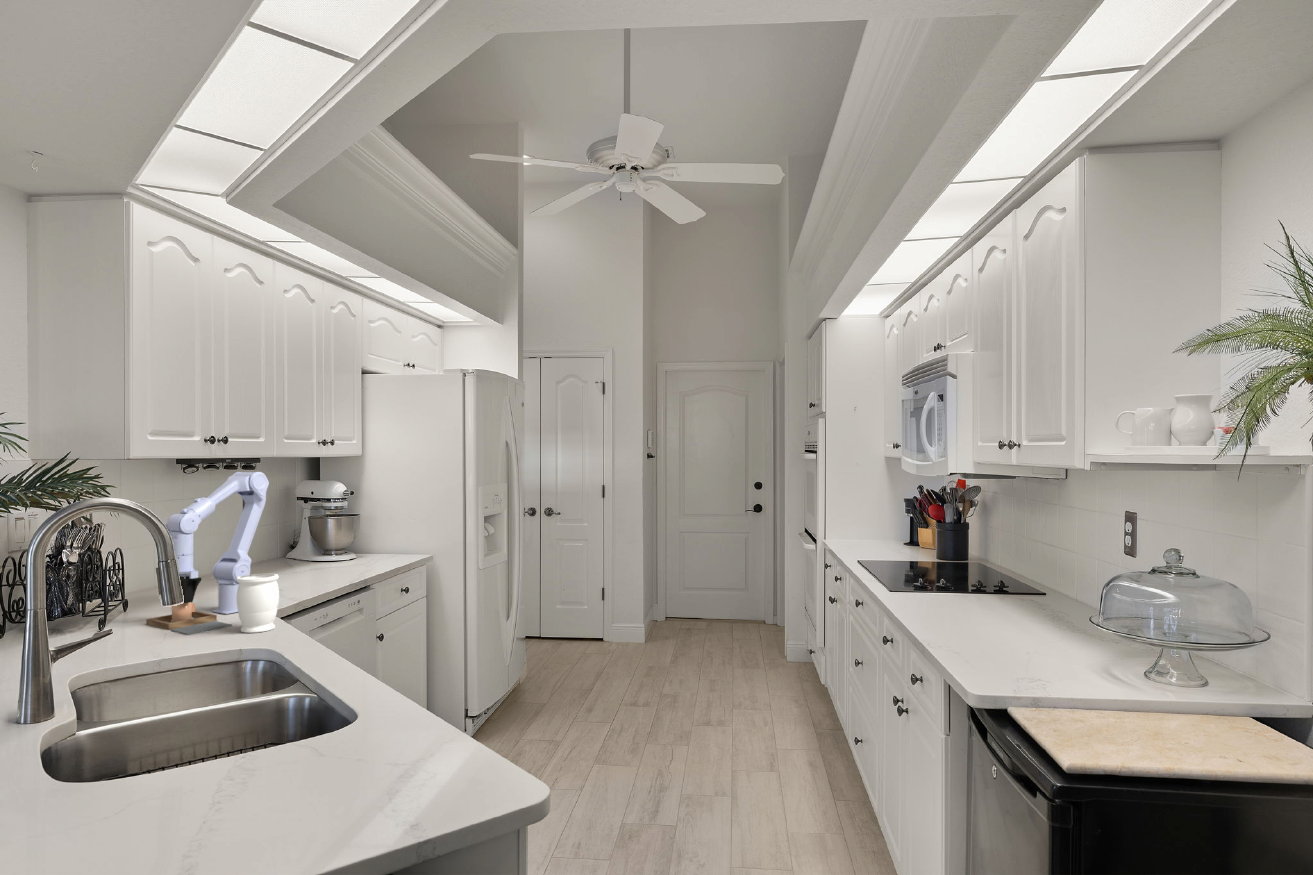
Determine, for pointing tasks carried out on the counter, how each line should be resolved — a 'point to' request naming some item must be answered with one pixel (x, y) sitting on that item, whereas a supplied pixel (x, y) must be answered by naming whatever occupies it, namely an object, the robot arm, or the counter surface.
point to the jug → (182, 612)
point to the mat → (201, 627)
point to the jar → (257, 602)
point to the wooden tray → (199, 618)
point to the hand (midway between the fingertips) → (181, 601)
